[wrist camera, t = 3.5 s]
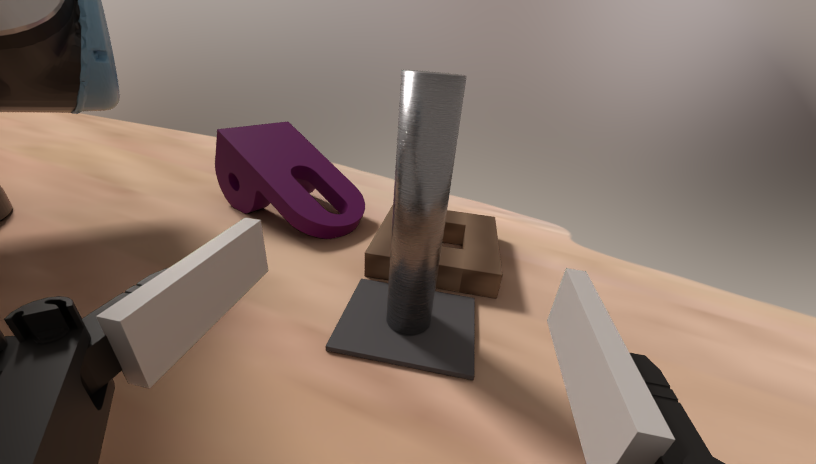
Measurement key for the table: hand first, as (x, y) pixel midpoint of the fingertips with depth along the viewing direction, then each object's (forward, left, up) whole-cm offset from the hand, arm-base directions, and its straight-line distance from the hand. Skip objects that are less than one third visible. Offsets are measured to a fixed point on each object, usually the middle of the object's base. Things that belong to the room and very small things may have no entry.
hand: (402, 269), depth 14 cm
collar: (+1, +18, -10) cm, 21 cm away
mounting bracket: (-17, +23, -10) cm, 31 cm away
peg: (0, +7, -10) cm, 12 cm away
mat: (0, +7, -10) cm, 12 cm away
